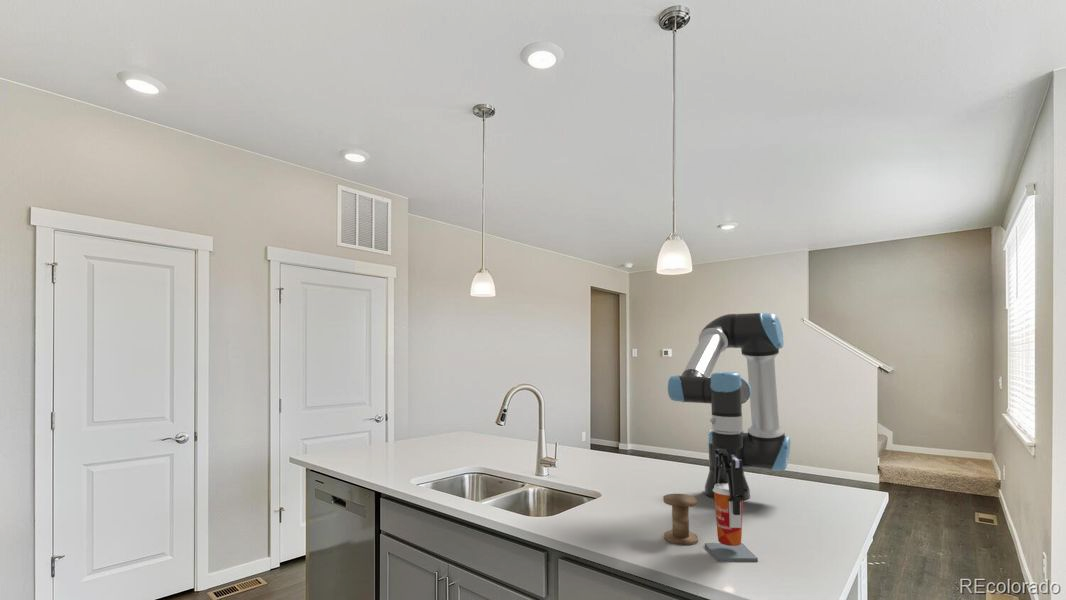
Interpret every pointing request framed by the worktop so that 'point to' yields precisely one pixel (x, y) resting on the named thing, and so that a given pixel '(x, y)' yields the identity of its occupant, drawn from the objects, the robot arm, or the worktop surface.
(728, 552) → the grey square tile
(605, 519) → the worktop surface
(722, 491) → the paper cup
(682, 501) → the bobbin
